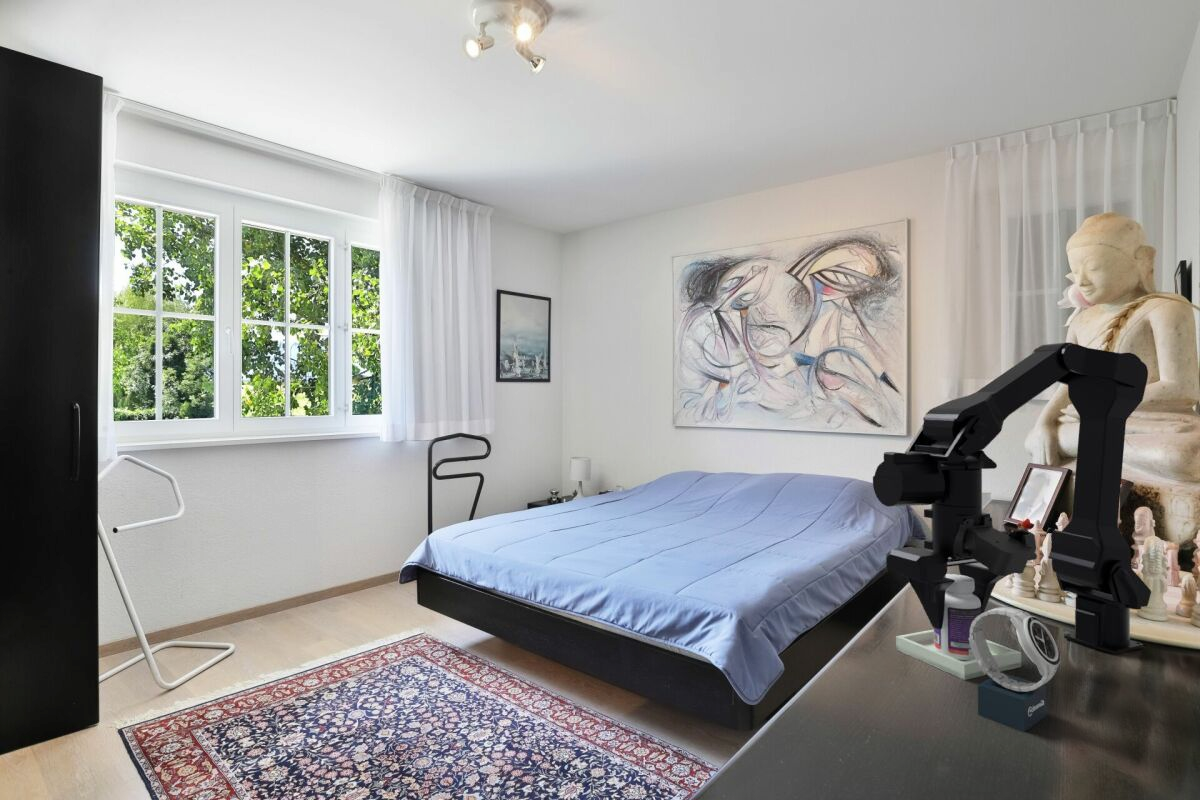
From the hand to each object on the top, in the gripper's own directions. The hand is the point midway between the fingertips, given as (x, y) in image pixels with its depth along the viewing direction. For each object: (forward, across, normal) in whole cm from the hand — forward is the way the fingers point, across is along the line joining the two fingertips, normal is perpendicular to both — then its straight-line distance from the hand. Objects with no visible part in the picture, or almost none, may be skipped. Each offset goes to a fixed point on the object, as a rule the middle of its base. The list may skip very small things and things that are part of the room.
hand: (956, 624), depth 82 cm
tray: (+4, 0, 0) cm, 4 cm away
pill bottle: (+4, 0, 0) cm, 4 cm away
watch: (+4, -8, -13) cm, 16 cm away
